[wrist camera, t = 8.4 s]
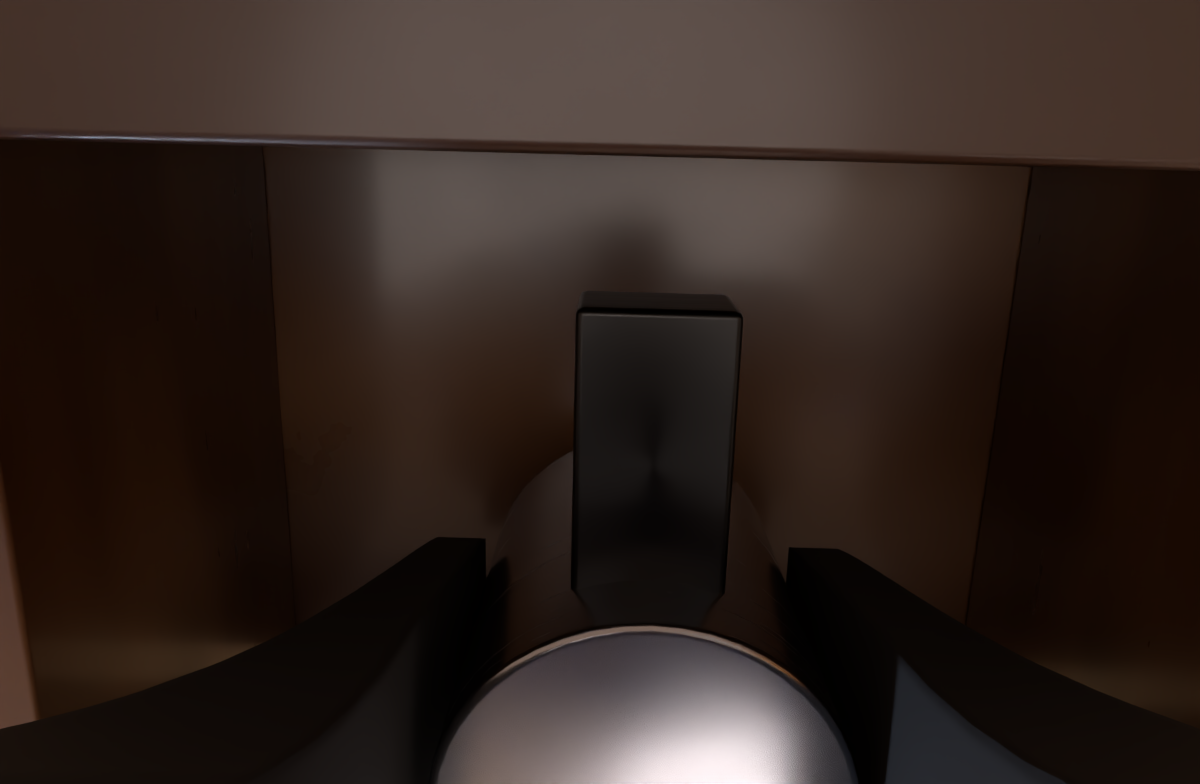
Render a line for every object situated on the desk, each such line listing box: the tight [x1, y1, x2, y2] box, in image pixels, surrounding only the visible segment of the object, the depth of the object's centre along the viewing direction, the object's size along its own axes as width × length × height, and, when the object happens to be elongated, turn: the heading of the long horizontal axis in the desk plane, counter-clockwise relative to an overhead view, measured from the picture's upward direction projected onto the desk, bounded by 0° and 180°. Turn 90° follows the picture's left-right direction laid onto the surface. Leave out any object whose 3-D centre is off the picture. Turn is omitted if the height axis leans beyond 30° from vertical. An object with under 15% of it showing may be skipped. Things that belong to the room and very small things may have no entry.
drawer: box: [0, 139, 1200, 729], centre depth 11 cm, size 19×13×7 cm
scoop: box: [428, 291, 860, 784], centre depth 10 cm, size 6×4×5 cm, turn 179°
